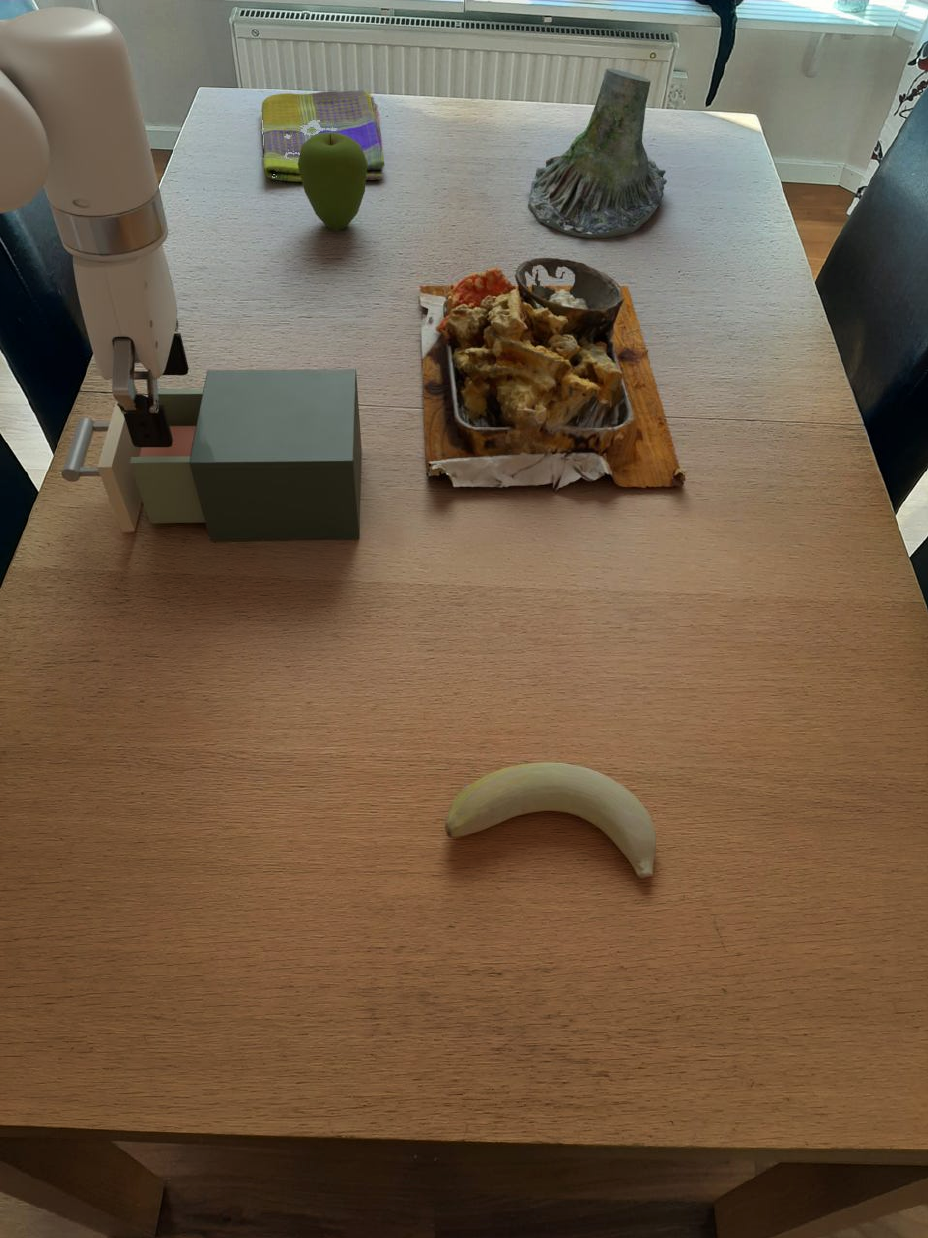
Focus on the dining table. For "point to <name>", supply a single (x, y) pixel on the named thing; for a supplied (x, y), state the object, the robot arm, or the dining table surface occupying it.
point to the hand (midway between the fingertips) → (162, 407)
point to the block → (174, 444)
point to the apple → (333, 177)
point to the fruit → (558, 805)
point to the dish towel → (333, 109)
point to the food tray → (540, 383)
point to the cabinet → (279, 455)
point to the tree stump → (603, 168)
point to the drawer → (141, 466)
